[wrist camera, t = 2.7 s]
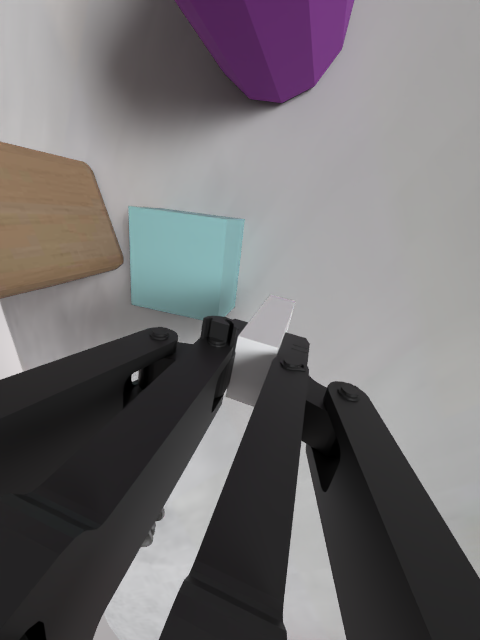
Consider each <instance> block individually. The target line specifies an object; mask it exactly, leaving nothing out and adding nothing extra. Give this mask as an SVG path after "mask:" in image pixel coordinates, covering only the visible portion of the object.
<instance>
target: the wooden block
mask: <svg viewBox="0 0 480 640" xmlns="http://www.w3.org/2000/svg"><path fill="white" fill-rule="evenodd" d="M122 263H123V255H122V252H121V249H120V246H119V244H118V241H117V238H116V235H115V232H114V230H113V227H112V224H111V221H110V218H109V216H108V213H107V210H106V207H105V204H104V202H103V199H102V196H101V193H100V190H99V188H98V185H97V182H96V179H95V176H94V174H93V171H92V170H91V168H90V167H89V166H88V165H87V164H86V163H85V162H82V161H78V160H73V159H69V158H65V157H61V156H57V155H53V154H49V153H45V152H41V151H36V150H32V149H28V148H24V147H20V146H16V145H12V144H8V143H3V142H0V299H1V298H5V297H9V296H13V295H17V294H21V293H26V292H30V291H34V290H38V289H42V288H46V287H50V286H54V285H59V284H62V283H66V282H70V281H74V280H77V279H81V278H85V277H88V276H92V275H96V274H99V273H103V272H107V271H111V270H114V269H117V268H118V267H119V266H120V265H121V264H122Z"/></svg>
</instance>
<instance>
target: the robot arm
mask: <svg viewBox="0 0 480 640" xmlns="http://www.w3.org/2000/svg"><path fill="white" fill-rule="evenodd" d="M295 302H296V301H293V300H289V299H286V298H282V297H278V296H274V295H269V297H268V298H267V299H266V301H265V302H264V303H263V304H262V306H261V307H260V308H259V310H258V311H257V312H256V314H255V315H254V316H253V317H252V319H251V320H250V321H249V323H248V322H244V321H241V320H237V319H233V320H232V319H229V318H226V317H222V316H207V317H204V318H203V324H202V331H201V337H200V339H198V340H197V341H196V342H195V343H194V344H186V343H179V342H178V335H177V333H176V332H174V331H173V330H170V329H168V328H163V327H158V328H149V329H145V330H143V331H140V332H137V333H134V334H131V335H128V336H125V337H122V338H120V339H117V340H114V341H111V342H108V343H105V344H102V345H99V346H96V347H94V348H91V349H88V350H85V351H82V352H79V353H76V354H73V355H71V356H68V357H65V358H62V359H59V360H56V361H53V362H50V363H48V364H45V365H42V366H39V367H36V368H33V369H30V370H27V371H24V372H22V373H19V374H16V375H13V376H10V377H8V378H5V379H2V380H0V640H93V637H94V634H95V631H96V628H97V626H98V624H99V621H100V619H101V617H102V615H103V613H104V611H105V609H106V607H107V606H108V604H109V602H110V600H111V599H112V597H113V595H114V593H115V591H116V590H117V588H118V586H119V584H120V583H121V581H122V579H123V577H124V576H125V574H126V572H127V570H128V568H129V567H130V565H131V563H132V561H133V560H134V558H135V556H136V554H137V553H138V551H139V549H140V547H141V546H142V544H143V542H144V540H145V538H146V537H147V535H148V533H149V531H150V530H151V528H152V526H153V524H154V523H155V521H156V519H157V517H158V516H159V514H160V512H161V510H162V508H163V507H164V505H165V503H166V501H167V500H168V498H169V496H170V494H171V493H172V491H173V489H174V487H175V485H176V484H177V482H178V480H179V478H180V477H181V475H182V473H183V471H184V470H185V468H186V466H187V464H188V463H189V461H190V459H191V457H192V455H193V454H194V452H195V450H196V448H197V447H198V445H199V443H200V441H201V440H202V438H203V436H204V434H205V433H206V431H207V429H208V427H209V425H210V424H211V422H212V420H213V418H214V417H215V415H216V413H217V411H218V410H219V408H220V406H221V404H222V400H223V395H224V392H225V390H226V389H227V393H226V397H228V398H231V399H234V400H237V401H239V402H242V403H245V404H248V405H251V406H254V410H253V412H252V415H251V417H250V420H249V422H248V425H247V428H246V430H245V433H244V435H243V438H242V440H241V443H240V446H239V448H238V451H237V453H236V456H235V459H234V461H233V464H232V466H231V469H230V471H229V474H228V477H227V479H226V482H225V484H224V487H223V490H222V492H221V495H220V497H219V500H218V502H217V505H216V508H215V510H214V513H213V515H212V518H211V521H210V523H209V526H208V528H207V531H206V533H205V536H204V539H203V541H202V544H201V546H200V549H199V552H198V554H197V557H196V559H195V562H194V564H193V567H192V569H191V571H190V573H189V575H188V576H187V577H186V579H185V580H184V582H183V584H182V586H181V588H180V590H179V592H178V594H177V597H176V599H175V601H174V604H173V606H172V608H171V611H170V613H169V616H168V618H167V621H166V623H165V626H164V628H163V631H162V633H161V636H160V638H159V640H287V631H286V629H285V626H284V624H283V603H284V594H285V584H286V575H287V566H288V557H289V548H290V539H291V530H292V521H293V512H294V503H295V493H296V484H297V475H298V466H299V457H300V448H301V440H302V441H303V442H305V443H306V454H307V458H308V463H309V468H310V472H311V477H312V482H313V486H314V491H315V495H316V500H317V505H318V509H319V514H320V519H321V523H322V528H323V533H324V537H325V542H326V547H327V551H328V556H329V560H330V565H331V570H332V574H333V579H334V584H335V588H336V593H337V598H338V602H339V607H340V611H341V616H342V621H343V625H344V630H345V635H346V639H347V640H480V579H479V577H478V575H477V574H476V572H475V570H474V569H473V567H472V565H471V564H470V562H469V561H468V559H467V557H466V556H465V554H464V552H463V551H462V549H461V548H460V546H459V544H458V543H457V541H456V539H455V538H454V536H453V534H452V533H451V531H450V530H449V528H448V526H447V525H446V523H445V521H444V520H443V518H442V516H441V515H440V513H439V512H438V510H437V508H436V507H435V505H434V503H433V502H432V500H431V499H430V497H429V495H428V494H427V492H426V490H425V489H424V487H423V485H422V484H421V482H420V481H419V479H418V477H417V476H416V474H415V472H414V471H413V469H412V468H411V466H410V464H409V463H408V461H407V459H406V458H405V456H404V454H403V453H402V451H401V450H400V448H399V446H398V445H397V443H396V441H395V440H394V438H393V436H392V435H391V433H390V432H389V430H388V428H387V427H386V425H385V423H384V422H383V420H382V419H381V417H380V415H379V414H378V412H377V410H376V409H375V407H374V405H373V404H372V402H371V401H370V399H369V397H368V396H367V395H366V394H365V393H364V392H363V391H362V390H360V389H359V388H358V387H356V386H353V385H352V384H350V383H345V382H338V381H335V382H331V383H330V384H329V385H328V387H327V388H326V387H324V386H322V385H321V384H319V383H317V382H316V381H314V380H313V379H312V378H311V377H310V376H309V369H308V367H307V362H308V353H309V345H310V344H309V342H308V341H307V339H306V338H303V337H300V336H296V335H293V334H289V333H287V330H288V327H289V323H290V320H291V316H292V312H293V309H294V305H295ZM138 370H139V376H138V380H136V381H134V382H132V381H131V375H132V374H133V373H134V372H136V371H138ZM227 387H228V388H227Z"/></svg>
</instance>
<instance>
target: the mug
mask: <svg viewBox="0 0 480 640" xmlns="http://www.w3.org/2000/svg"><path fill="white" fill-rule="evenodd" d="M175 2H176V3H177V5H178V6H179V8H180V9H181V11H182V12H183V14H184V15H185V17H186V18H187V20H188V21H189V23H190V24H191V25H192V27H193V28H194V30H195V31H196V33H197V34H198V36H199V37H200V39H201V40H202V42H203V43H204V45H205V46H206V48H207V49H208V50H209V52H210V53H211V55H212V56H213V58H214V59H215V61H216V62H217V64H218V65H219V67H220V68H221V70H222V71H223V72H224V73H225V74H226V76H227V77H228V78H229V79H230V80H231V81H232V82H233V83H234V84H235V85H236V86H237V87H238V88H239V89H240V90H241V91H242V92H243V93H244V94H245V95H246V96H247V97H248V98H249V99H253V100H261V101H269V102H277V103H283V102H285V101H287V100H289V99H291V98H293V97H295V96H297V95H299V94H300V93H302V92H304V91H306V90H308V89H310V88H312V87H314V86H315V85H316V83H317V82H318V81H319V79H320V78H321V77H322V75H323V74H324V73H325V71H326V70H327V68H328V67H329V66H330V64H331V63H332V62H333V60H334V59H335V58H336V56H337V55H338V54H339V52H340V51H341V49H342V47H343V43H344V39H345V35H346V31H347V27H348V23H349V19H350V15H351V11H352V7H353V3H354V0H175Z"/></svg>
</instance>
